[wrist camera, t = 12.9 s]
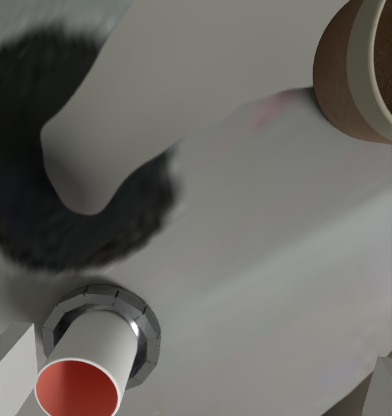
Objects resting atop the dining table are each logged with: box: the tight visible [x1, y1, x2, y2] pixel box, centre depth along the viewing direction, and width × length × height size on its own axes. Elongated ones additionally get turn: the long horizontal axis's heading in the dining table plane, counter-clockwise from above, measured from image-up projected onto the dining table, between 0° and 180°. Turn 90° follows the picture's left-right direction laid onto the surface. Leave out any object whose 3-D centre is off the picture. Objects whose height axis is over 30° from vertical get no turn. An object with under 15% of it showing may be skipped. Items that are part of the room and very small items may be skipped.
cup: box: [34, 310, 137, 416], centre depth 41 cm, size 10×10×10 cm
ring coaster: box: [42, 284, 161, 390], centre depth 45 cm, size 16×16×3 cm
